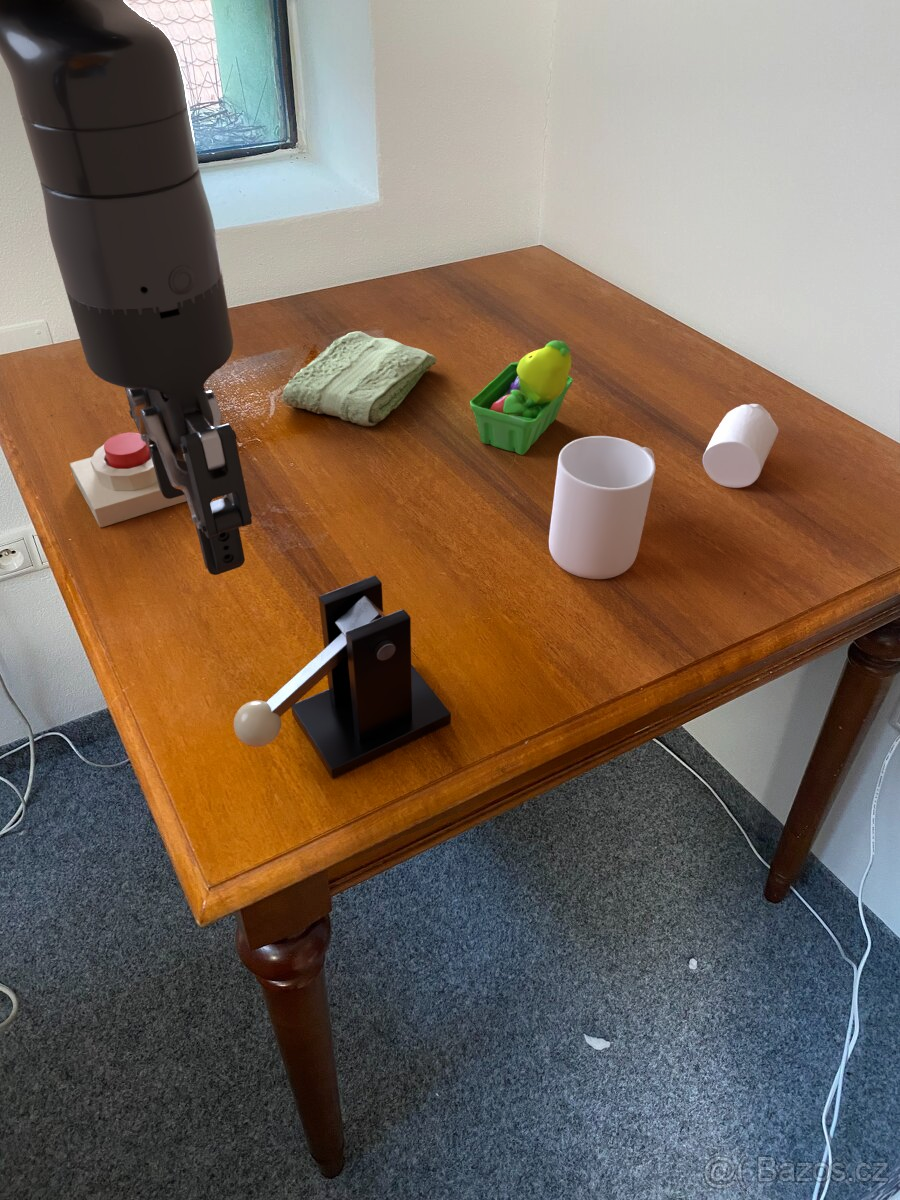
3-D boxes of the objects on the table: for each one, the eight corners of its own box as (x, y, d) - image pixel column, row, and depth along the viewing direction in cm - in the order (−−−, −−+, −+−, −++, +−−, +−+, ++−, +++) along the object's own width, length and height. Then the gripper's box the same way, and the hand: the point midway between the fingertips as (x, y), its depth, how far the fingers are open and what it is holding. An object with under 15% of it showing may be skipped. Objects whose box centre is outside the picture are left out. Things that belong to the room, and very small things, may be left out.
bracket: (332, 779, 63) (319, 667, 55) (291, 715, 67) (273, 601, 59) (451, 723, 67) (454, 611, 59) (405, 665, 71) (402, 553, 63)
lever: (263, 762, 60) (234, 747, 58) (245, 731, 62) (217, 715, 60) (402, 635, 60) (380, 615, 58) (380, 608, 62) (357, 587, 60)
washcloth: (441, 366, 108) (441, 342, 106) (375, 436, 96) (374, 410, 94) (348, 345, 112) (346, 321, 110) (273, 409, 100) (270, 384, 98)
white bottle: (778, 439, 97) (792, 394, 94) (753, 495, 89) (768, 448, 86) (724, 425, 99) (736, 380, 95) (696, 478, 91) (708, 432, 88)
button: (114, 474, 84) (110, 459, 82) (103, 454, 86) (98, 439, 85) (156, 462, 85) (152, 447, 84) (143, 443, 88) (139, 428, 87)
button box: (100, 528, 83) (89, 493, 81) (75, 481, 89) (64, 447, 86) (201, 496, 87) (194, 463, 85) (171, 453, 93) (163, 420, 90)
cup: (529, 551, 82) (538, 460, 75) (607, 499, 88) (622, 410, 81) (599, 594, 78) (616, 501, 71) (676, 536, 84) (698, 446, 77)
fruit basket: (510, 399, 103) (517, 306, 95) (580, 419, 100) (593, 325, 92) (465, 445, 95) (468, 349, 88) (539, 468, 92) (550, 370, 85)
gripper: (32, 236, 46) (109, 488, 57) (104, 346, 37) (179, 619, 48) (172, 212, 49) (219, 456, 60) (269, 309, 40) (304, 574, 51)
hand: (201, 528), depth 54 cm, fingers open, 8 cm apart
